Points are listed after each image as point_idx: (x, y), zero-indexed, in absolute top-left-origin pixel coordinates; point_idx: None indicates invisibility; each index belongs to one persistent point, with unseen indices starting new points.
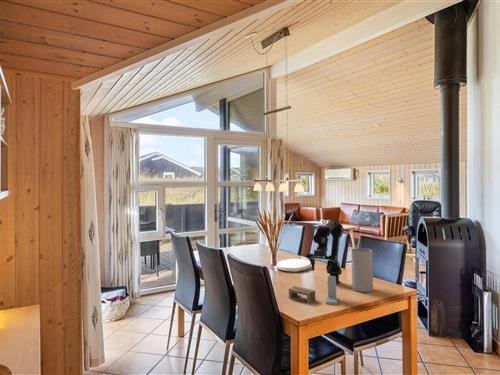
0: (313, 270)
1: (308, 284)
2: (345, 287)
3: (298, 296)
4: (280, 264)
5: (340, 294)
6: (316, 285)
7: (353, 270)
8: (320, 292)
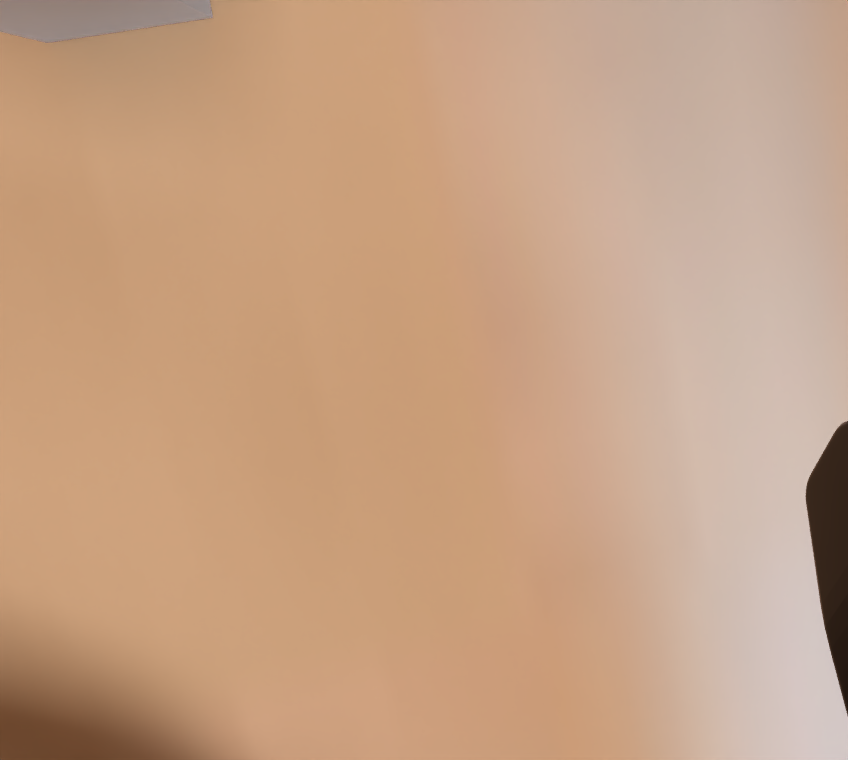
0: (821, 459)
1: (801, 744)
2: (70, 754)
3: None
4: None
5: (36, 323)
6: (628, 726)
7: None
8: (463, 317)
